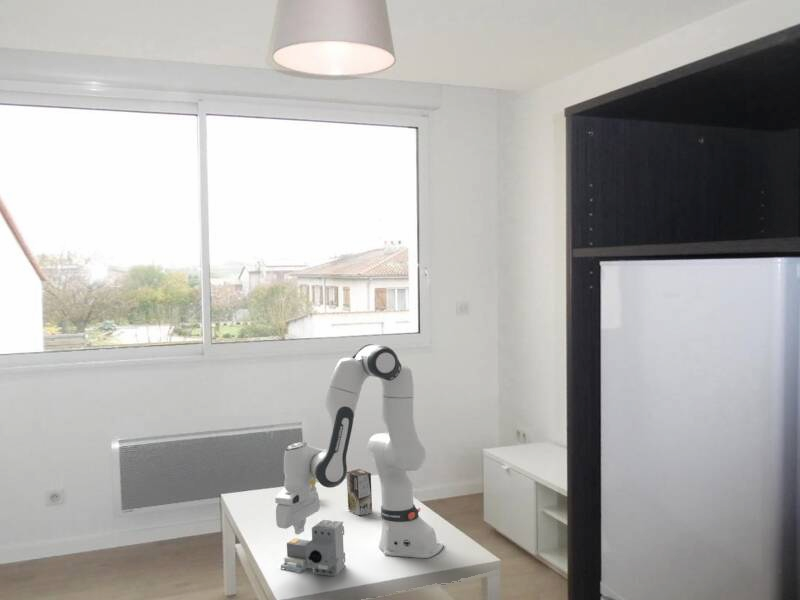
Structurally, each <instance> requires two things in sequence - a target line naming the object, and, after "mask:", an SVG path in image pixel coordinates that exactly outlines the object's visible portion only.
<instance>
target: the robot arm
mask: <svg viewBox="0 0 800 600" xmlns="http://www.w3.org/2000/svg"><path fill="white" fill-rule="evenodd" d="M332 372H333V373H332V374H331V377H330V380H329V382H328V383H329V384H328V387H327V389H326V394H325V402H324V403H325V408H326V410H327V412H328V414H329V417H330V419H331V420H330V421H331V433H330V438H329V441H328V442H329V443H328V446H327V449H325V448H319V447H315V446H312V444H308V443H307V442H305V441H297V442H293V443H291V444H290V445H288V446H287V447H286V448H285V450H284V455H283V473H284V477H285V478H284V483H283V484H284V486H283V488H282V489H281V491H280V492H279V493H278V494H277V495H276V497H275V499H274V501H275V503H276V504H277V505H276V508H275V521H276V526H277V528H279V529H285V530H286V529H289V528H290V527H293V529H294V534H295V535H300V534H301V533H304V532H305V525H306V521H307V518H308V517H310V516H313V515H314V514H315V513H317V512H319V510H320V508H321V507H320V498H319V497H320V496H319V494H318V491H317V487H316V485H315V486H314V485H311V480H312V479H315V480H316V481H317V482H319V484H320V485H321V486H322V487H325V488H328V489H330V488H331V489H332V488H335V487H338V486H339V485H341V484H342V483H343V482H344V480H345V479H346V478H347V472H348V465H347V454H348V450H349V449H348V448H349V445H350V439H351V434H352V430H353V424H354V417H355V413H356V409H357V405H358V401H359V398H360V394H361V390H362V387H363V384H364V382H365V380H367V378H368V377H375V378H379V379H380V381H381V386H382V390H381V417H380V418H381V419H382V422H383V424H385V427H386V430H387V432H378V433H375V434H373V435H371V437H370V438H369V440H368V442H367V446H366V447H367V448H366V451H367V454H368V456H369V457H370V458H371V460H372V461H373V463H374V465H375V468H376V469H375V470H376V472H377V474H378V475H377V476H378V479H379V483H380V488H381V489H380V491H381V507H380V512H381V513H380V514H381V516H380V517H381V518H380V519H381V535H380V541H379V545H378V548H379V550H380V551H382V552H383V554H384V555H385V556H392V557H393V556H394V557H404V558H408V557H409V558H417V559H428V558H431V557H434V556H435V555H437V554H438V553H440V552H441V551H442V550H443V548H444V542H443V541H441V540H437V536H436V535H437V534H436V531H435V529H434V527H432V525H430V524H429V523H427V521H425V520H424V519H423V518H422V517H421V516H420V515H419V513H420V512H421V507H418V508H417V507H416V505H415V504H414V485H413V482H412V480H411V478H410V477H409V476H408V473H407V472H414V471H418V470H420V469H421V468H422V467H423V465H424V464H425V461H426V457H427V453H426V450H425V447H424V446H423V444H422V443H421V441H420V439H419V437H418V433H417V430H416V426H415V423H414V379H413V372H412V370H411V368H410V367H408V366H407V365H406V364H401V362H400V360H399V358H398V355H397V354H396V352H395V351H394V350H393V349H392V348H390V347H388V346H386V345H382V344H376V343H375V344H373V343H371V344H370V343H368V344H366V345H364V346H362V347H361V348H360V349H359V350H358V351H357V352H356V353H355V354H354V355H353V356H352V357H343V358H341V359H340V360H338V362H337V364H336V366H335V368H334V370H333V371H332Z"/></svg>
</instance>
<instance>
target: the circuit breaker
mask: <svg viewBox="0 0 800 600" xmlns="http://www.w3.org/2000/svg"><path fill="white" fill-rule="evenodd" d="M343 524H344V521H339V520H333V521H332V520H329V519H328V520H327V519H322V520H320V521H319V522H318V523H316V524H315V525H313V527H311V537H312V538H311V540H309V541H310V542H308V543H307V544H306V563H307V569H313V574H314V575H321V576H329V577H330V576H331V577H336V576H337V575H338V574H339V573H340V572H341V571H342V570H343V569H344V568H346V565H345V563H346V552H345V551H344V535H345V526H343Z"/></svg>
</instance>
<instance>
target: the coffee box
mask: <svg viewBox="0 0 800 600" xmlns="http://www.w3.org/2000/svg"><path fill="white" fill-rule="evenodd" d="M371 475H372V473H371V472H368V471H366V470H363V469H360V468H359V469H354V470H351V471H350V470H349V471H347V474H346V487H347V507H348V509H347V510H350V511H352V512H354V513H356V514H358V515H362V516H364V515H363V514H366V515H369V514H368V513H370V514H372V513H373V500H372V499H373V498H372V476H371ZM350 511H349V512H350ZM352 512H351V513H352ZM371 512H372V513H371ZM354 513H353V514H354ZM356 514H355V515H356ZM358 515H357V516H358Z"/></svg>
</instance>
